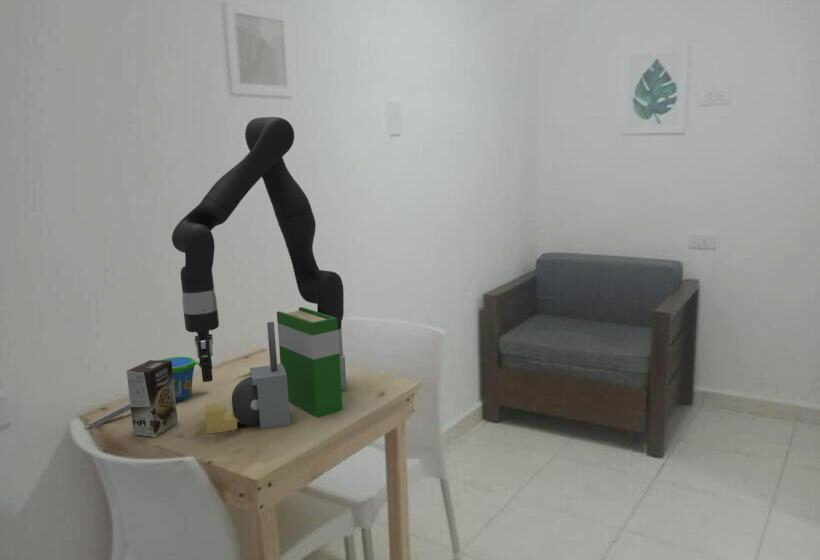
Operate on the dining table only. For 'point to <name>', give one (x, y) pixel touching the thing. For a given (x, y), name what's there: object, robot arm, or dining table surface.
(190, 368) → the snack cup
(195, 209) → the robot arm
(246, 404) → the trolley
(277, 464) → the dining table surface
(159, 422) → the coffee box
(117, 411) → the caliper
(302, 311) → the hardback book
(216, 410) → the wedge
